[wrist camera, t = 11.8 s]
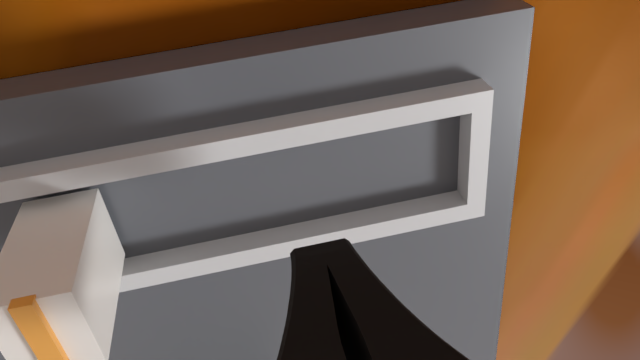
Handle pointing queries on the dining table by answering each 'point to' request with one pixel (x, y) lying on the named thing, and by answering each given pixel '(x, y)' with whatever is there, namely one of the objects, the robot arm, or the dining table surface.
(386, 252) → the console
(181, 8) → the dining table surface
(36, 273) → the fader knob
